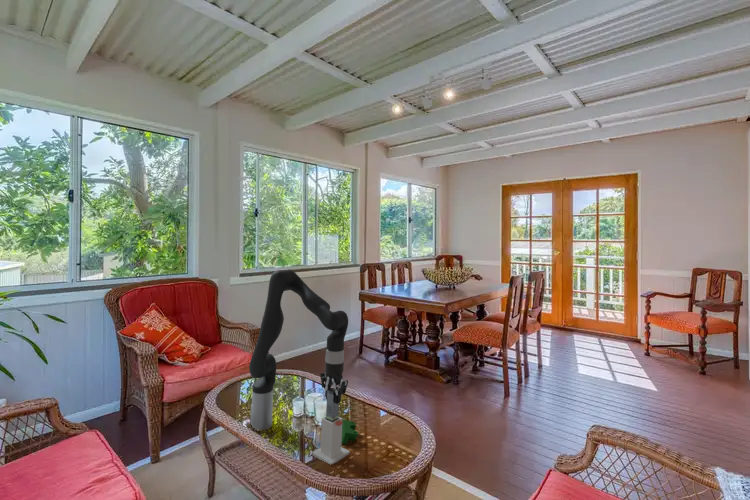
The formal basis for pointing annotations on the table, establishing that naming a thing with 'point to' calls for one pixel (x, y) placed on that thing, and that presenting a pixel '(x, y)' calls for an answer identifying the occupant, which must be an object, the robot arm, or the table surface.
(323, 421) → the stand housing
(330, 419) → the column
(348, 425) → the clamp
